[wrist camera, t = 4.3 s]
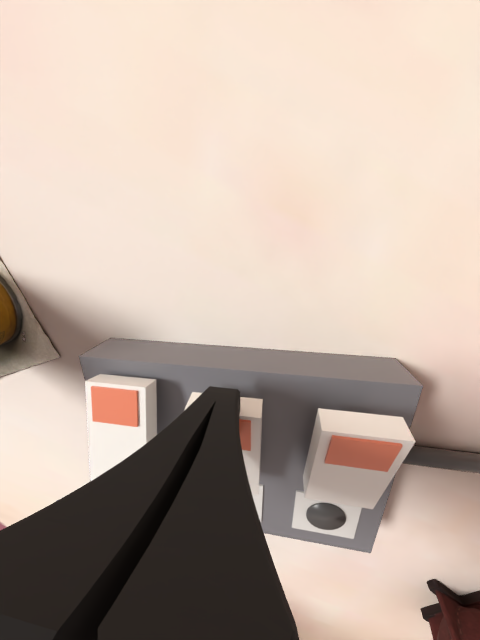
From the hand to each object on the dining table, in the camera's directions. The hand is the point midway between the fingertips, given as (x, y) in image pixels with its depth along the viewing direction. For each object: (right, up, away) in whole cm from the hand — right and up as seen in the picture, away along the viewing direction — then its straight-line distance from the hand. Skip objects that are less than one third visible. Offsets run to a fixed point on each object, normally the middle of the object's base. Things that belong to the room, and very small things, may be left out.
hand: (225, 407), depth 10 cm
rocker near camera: (+5, -3, +1) cm, 6 cm away
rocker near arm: (-5, -2, +2) cm, 6 cm away
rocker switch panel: (+5, -4, +5) cm, 8 cm away
